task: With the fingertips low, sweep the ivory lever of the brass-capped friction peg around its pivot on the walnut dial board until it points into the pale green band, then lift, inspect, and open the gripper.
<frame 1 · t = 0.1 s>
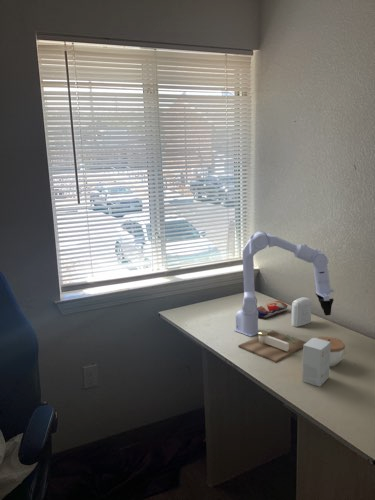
hand: (326, 311, 170), 11 cm above the table, tool pointing down, fingers open, 7 cm apart
photo printer: (300, 324, 185), on the table
small box: (315, 379, 137), on the table
dial board: (273, 346, 163), on the table
pencil case: (270, 314, 199), on the table
peg lever: (272, 340, 160), point 3 cm above the table, hinge at 0.0°
lidded jar: (327, 363, 149), on the table
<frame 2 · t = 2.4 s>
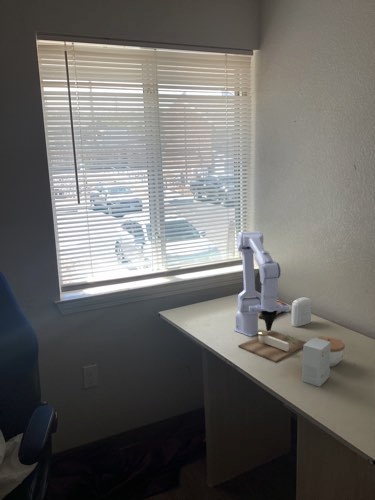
hand: (268, 329, 153), 10 cm above the table, tool pointing down, fingers closed
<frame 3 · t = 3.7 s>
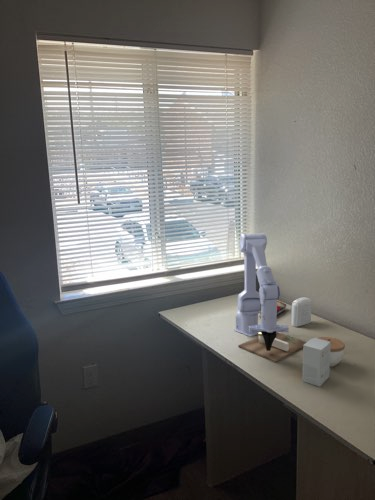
hand: (268, 349, 154), 2 cm above the table, tool pointing down, fingers closed
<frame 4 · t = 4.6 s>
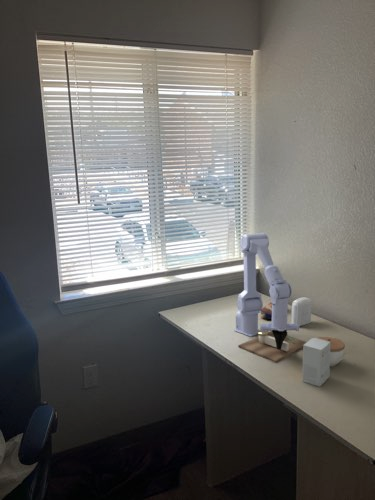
hand: (278, 348, 155), 2 cm above the table, tool pointing down, fingers closed
peg lever: (272, 340, 160), point 3 cm above the table, hinge at 0.0°, touching gripper
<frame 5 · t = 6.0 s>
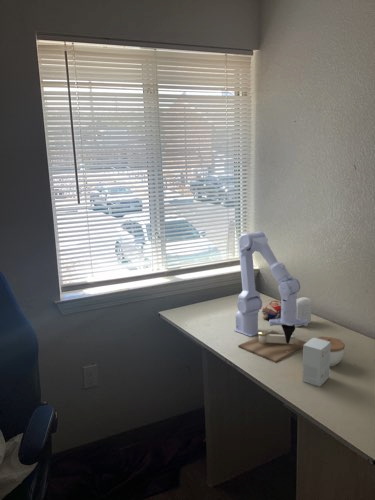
hand: (287, 342, 160), 2 cm above the table, tool pointing down, fingers closed, pressing on peg lever
peg lever: (275, 337, 163), point 3 cm above the table, hinge at 38.4°, touching gripper
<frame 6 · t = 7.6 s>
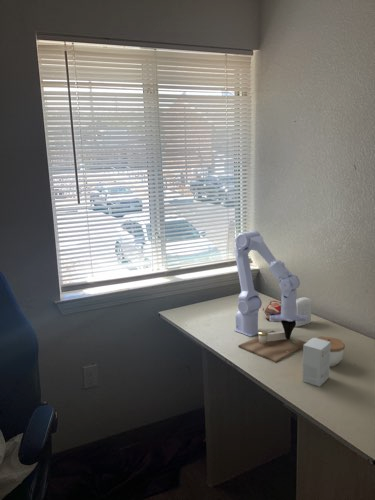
hand: (287, 337, 164), 3 cm above the table, tool pointing down, fingers closed
peg lever: (274, 335, 165), point 3 cm above the table, hinge at 63.6°
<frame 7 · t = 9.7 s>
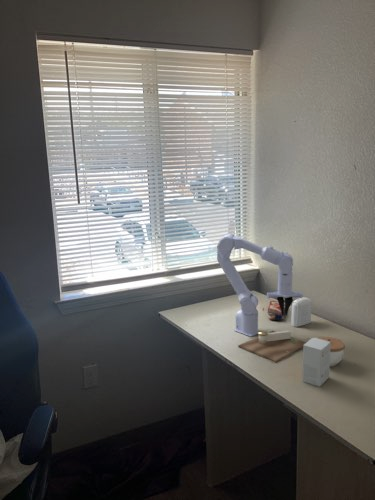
hand: (284, 314, 172), 9 cm above the table, tool pointing down, fingers closed
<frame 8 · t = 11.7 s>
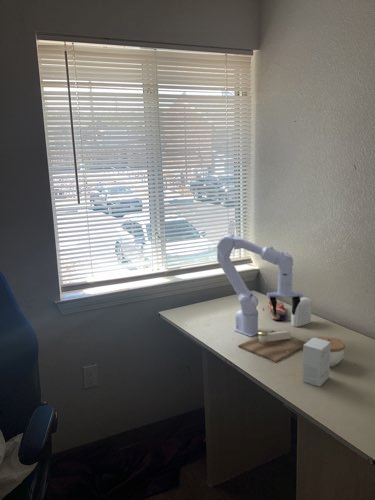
hand: (284, 314, 172), 9 cm above the table, tool pointing down, fingers open, 7 cm apart
at the end: peg lever at +64° (first picture: +0°) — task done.
